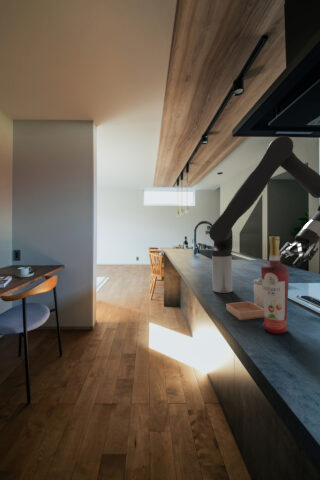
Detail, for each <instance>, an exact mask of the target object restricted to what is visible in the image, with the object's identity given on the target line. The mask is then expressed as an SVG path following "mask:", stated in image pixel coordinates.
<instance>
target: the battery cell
mask: <svg viewBox="0 0 320 480" xmlns="http://www.w3.org/2000/svg"><path fill="white" fill-rule="evenodd" d="M253 303H254V304H255V305H257V306H259V307H261V308H263V309H264V303H263V290H262V277H261V278H259V277H258V278H256V279H253Z"/></svg>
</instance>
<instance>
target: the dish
mask: <svg viewBox="0 0 320 480" xmlns="http://www.w3.org/2000/svg"><path fill="white" fill-rule="evenodd" d="M225 306H226V309H225V310H226V311H227V313H229V314H231V315H232V316H233V317H235V318H236V319H237V320H239V321H246V320H252V319H262V318H263V319H264V309H263V308H261V307H259V306H257V305H255V304H254V302H252V301H249V300H248V301H240V302H229V303H225Z"/></svg>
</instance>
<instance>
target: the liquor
mask: <svg viewBox="0 0 320 480" xmlns="http://www.w3.org/2000/svg"><path fill="white" fill-rule="evenodd" d="M280 241H281V240H280V236H269V242H268V243H269V249H270V250H269V259H268V263H265V264H263V265H262V266H261V267H260V272H261V274H260V275H261V279H262V290H263V303H264V317H263V320H264V321H263V323H262V327H264V329H265V330H267V332H269V333H271V334H274V335H282V334H284V333H286V332H287V331H289V329H290V328H289V326H288V298H289V296H288V295H289V283H290V282H289V280H290V279H289V275H290V268H289V267H288V266H287V265H286V264H283V263H282V264H281V263H280V255H281V254H280V253H279V251H280Z"/></svg>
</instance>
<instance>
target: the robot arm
mask: <svg viewBox="0 0 320 480" xmlns="http://www.w3.org/2000/svg"><path fill="white" fill-rule="evenodd" d="M280 167H281V168H282V169H283V170H285V171H286V172H288V174H289V175H291V177H293V179H294V180H295V181H296V182H297V183H298V184H299V185H300V186H301V187H302V188H303V189H304V190H305V191H306V192H307V193H308V194H309V195H310V196H311V197H312V198H314V199H320V173H319V172H317V171H316V170H314V169H312V168H311V167H310V166H309V165H307V164H305V163H304V162H303V161H302V160H301V159H300V158H298V157H297V155H296V154H295V153H294V142H293V140H292V138H291V137H289V136H288V135H287V136H286V135H280V136H277V137H275V138H274V139H273V140H272V141H270V143H269V144H268V146H267V149H266V151H265V153H264V154H263V156H262V158H261V159H260V161H259V163H258V164H257V165H256V167H255V168H254V169H252V171H251V173H250V174H249V175H247V177H246V178H245V180H243V182H242V183H241V184H240V186H239V188H238V189H237V190H236V192H235V193H234V195H233V196H232V198H231V200H229V203H228V204H227V205H226V208H225V209H224V210H223V212H222V213H221V215H220V216H219V217H218V218H217V219H216V220H215V221H214V223H213V224H212V225H211V226H210V229H209V232H208V233H209V238H210V240H211V241H213V247H212V250H211V264H212V265H211V266H212V267H211V269H212V271H211V272H212V273H211V275H212V278H211V279H212V291H213V292H216V293H219V294H220V293H222V294H227V293H231V292H233V267H232V266H233V264H232V263H233V262H232V261H233V260H232V258H233V257H232V253H233V242H234V241H233V239H234V237H233V227H234V226H235V224H236V223H237V221H238V220H239V219H240V218H241V217H242V216H243V215H245V213H247V212H248V210H249V209H251V207H252V206H253V205H254V204H255V202H256V201H257V200H258V199H259V198H260V196H261V194H262V193H263V192H264V190H265V188H266V187H267V186H268V183H269V181H270V180H271V179H272V177H273V176H274V174H275V172H276V171H277V170H278V169H279V168H280ZM314 212H315V213H314V214H313V216H312V217H311V218H310V219H309V220H308V222H307V223H305V224H304V225H303V226H302V227H301V229H300V230H299V232H298V233H297V234H296V235H295V236H294V241H293V242H292V243H290V242H289V241H287V242H286V243H284V245H283V246H282V247H281V249H279V254H280V263H281V264H283V263H284V261H285V260H286V259H287V258H288V257H292V256H295V255H298V256H297V258H296V259H295V260H294V261H293V262H292V264H291V265H292V266H293V267H294V269H298V268H299V267H300V266H301V265H302V264H303V262H305V261H311V260H313V257H315V255H316V253H317V252H318V251H319V248H318V246H317V244H318V243H319V242H320V203H319V204H318V206H317V208H316V209H315V211H314Z"/></svg>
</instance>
